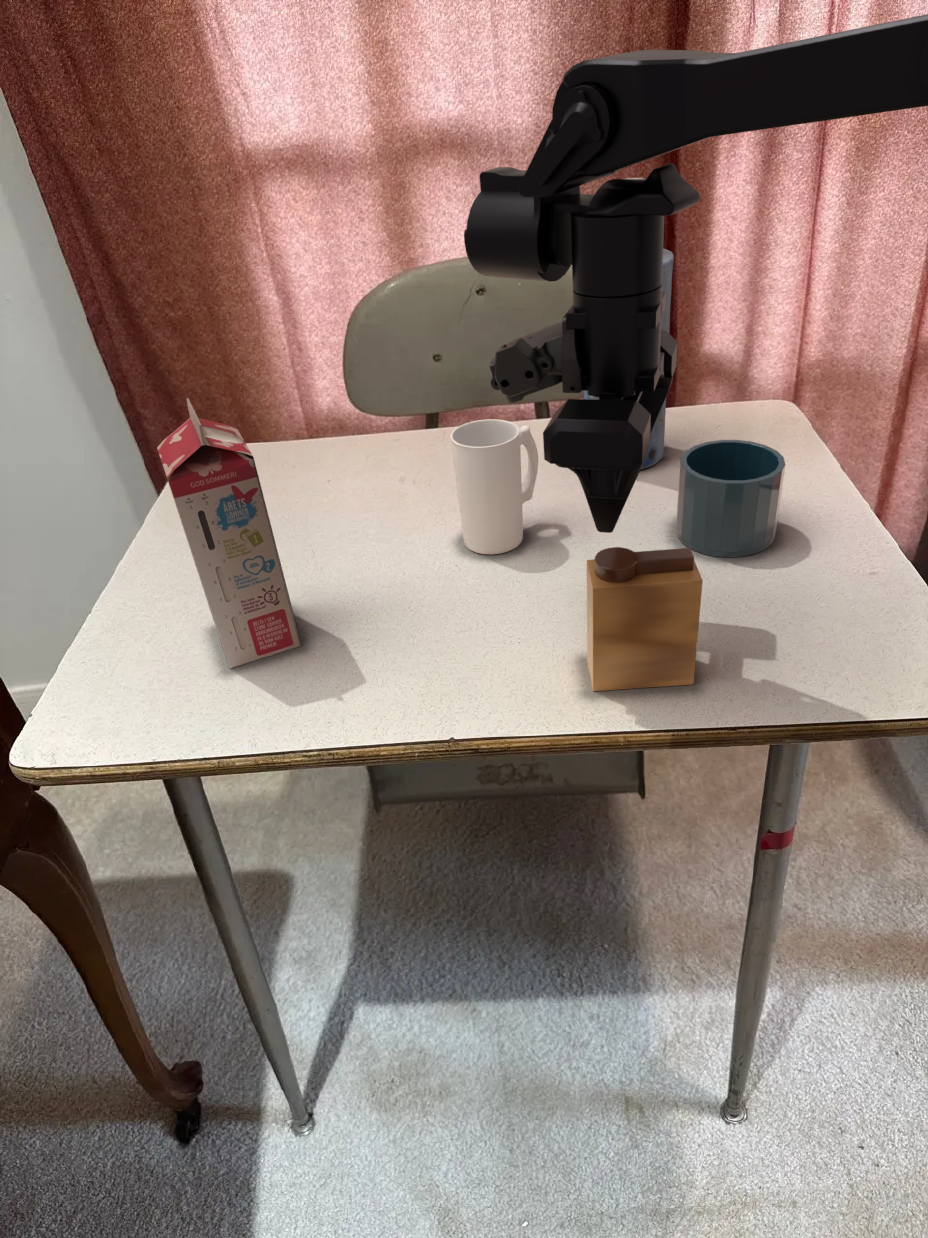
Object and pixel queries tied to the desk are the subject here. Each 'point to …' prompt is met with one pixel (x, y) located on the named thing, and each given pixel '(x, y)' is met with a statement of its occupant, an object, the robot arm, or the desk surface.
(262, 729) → the desk surface
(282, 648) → the juice carton
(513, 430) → the mug
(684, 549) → the brown disc handle
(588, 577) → the wooden block
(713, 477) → the crock
